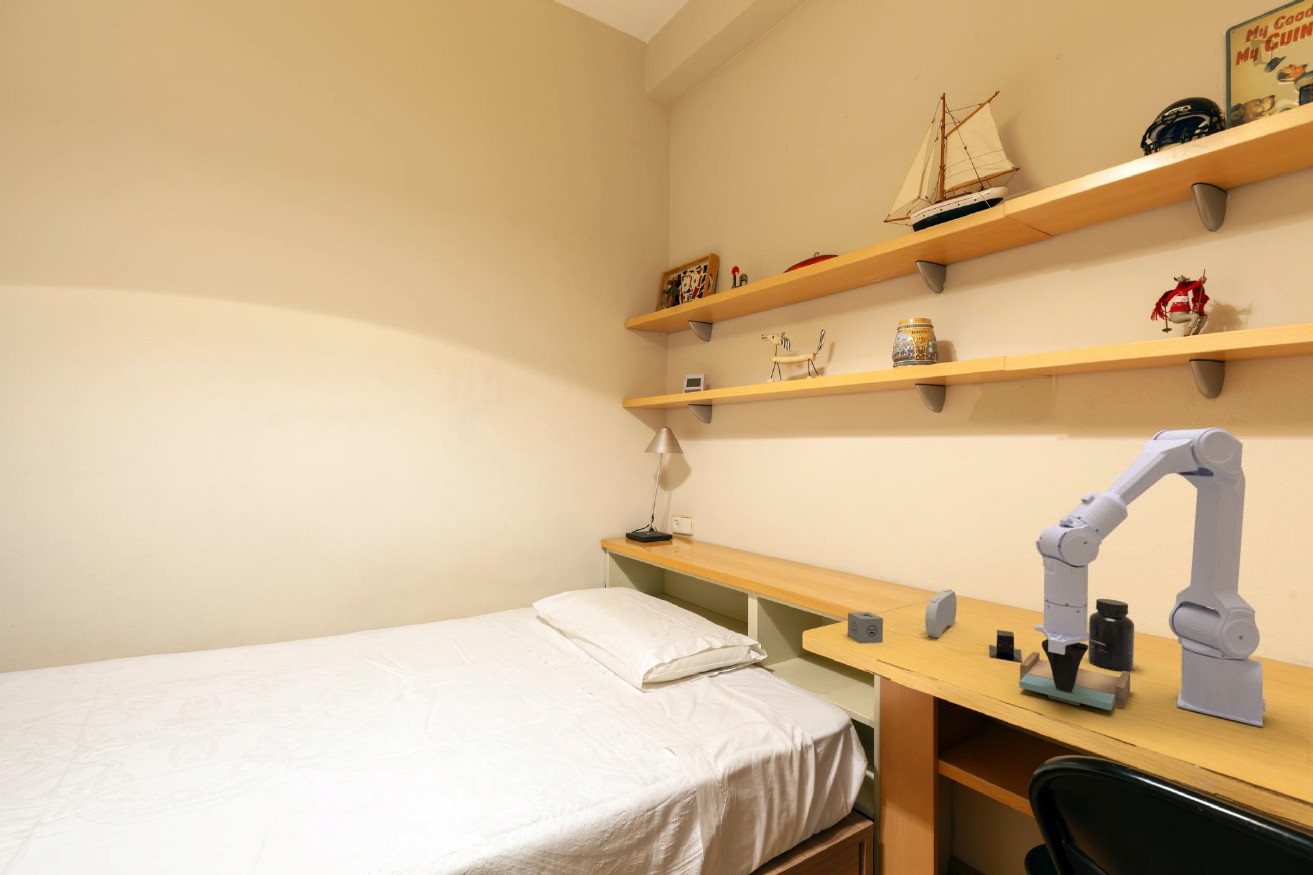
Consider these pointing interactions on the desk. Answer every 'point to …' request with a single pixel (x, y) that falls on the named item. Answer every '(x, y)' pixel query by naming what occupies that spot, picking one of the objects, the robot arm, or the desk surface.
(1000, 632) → the black upright stand
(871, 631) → the dice cube
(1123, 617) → the supplement bottle
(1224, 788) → the desk surface
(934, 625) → the game controller
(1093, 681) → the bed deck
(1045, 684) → the panel
